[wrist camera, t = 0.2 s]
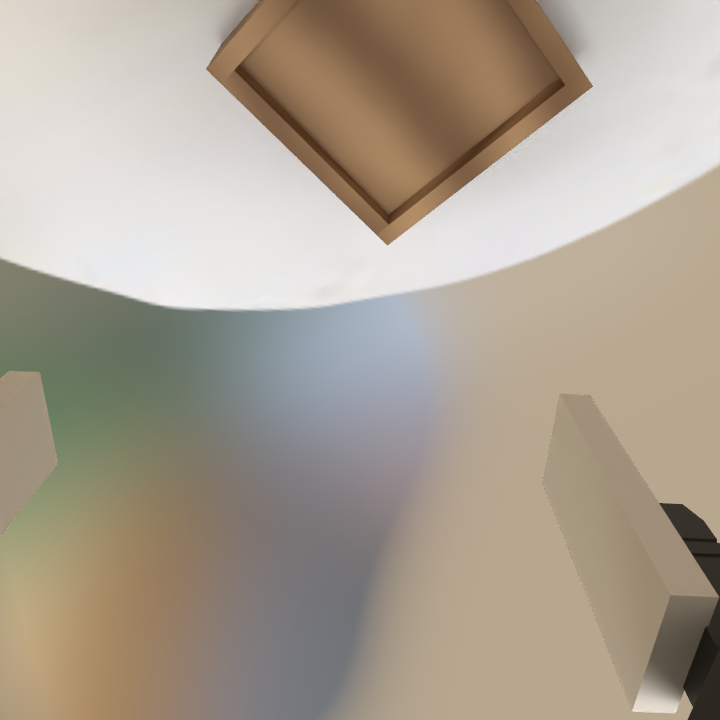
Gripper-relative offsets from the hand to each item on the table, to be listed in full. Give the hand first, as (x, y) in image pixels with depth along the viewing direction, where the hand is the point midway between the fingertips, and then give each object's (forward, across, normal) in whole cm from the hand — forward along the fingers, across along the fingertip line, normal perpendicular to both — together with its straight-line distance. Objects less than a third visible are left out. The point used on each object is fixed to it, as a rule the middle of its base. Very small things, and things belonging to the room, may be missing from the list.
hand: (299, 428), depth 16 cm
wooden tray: (+26, +3, +9) cm, 27 cm away
